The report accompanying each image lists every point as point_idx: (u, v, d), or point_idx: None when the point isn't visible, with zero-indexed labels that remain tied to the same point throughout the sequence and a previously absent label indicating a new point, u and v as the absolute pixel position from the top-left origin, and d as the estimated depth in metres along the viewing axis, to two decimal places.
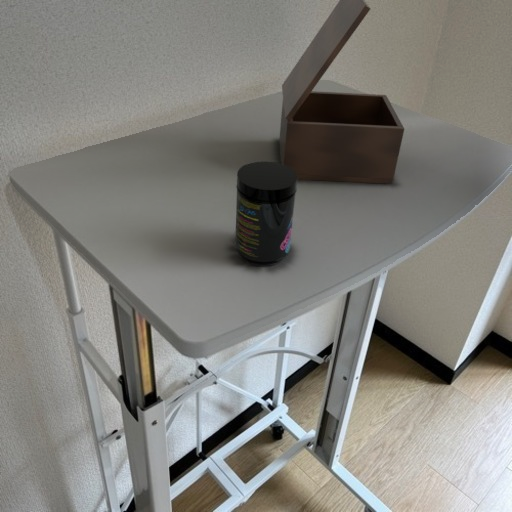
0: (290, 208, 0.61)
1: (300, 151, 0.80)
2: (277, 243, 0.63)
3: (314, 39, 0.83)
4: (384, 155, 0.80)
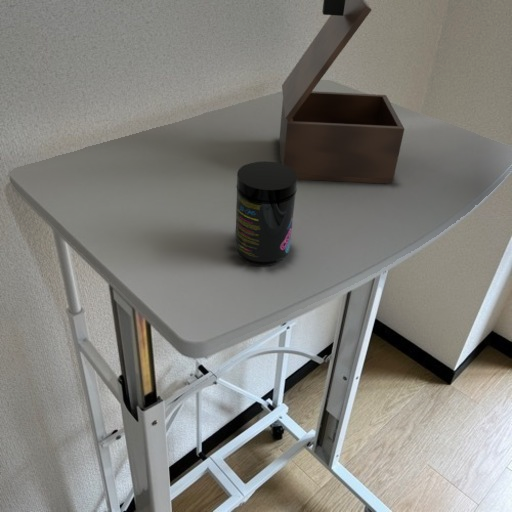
0: (290, 208, 0.61)
1: (300, 151, 0.80)
2: (277, 243, 0.63)
3: (315, 39, 0.83)
4: (384, 155, 0.80)
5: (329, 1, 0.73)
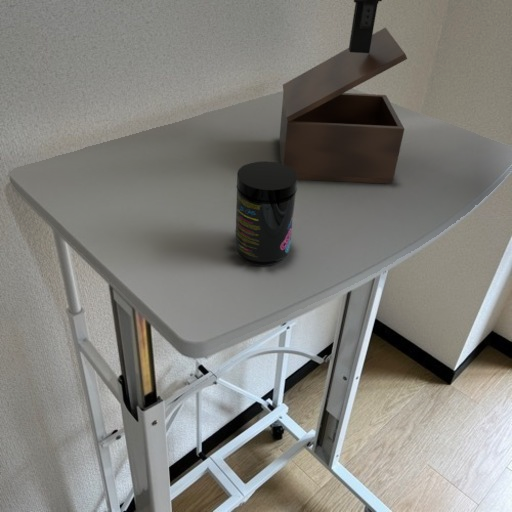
0: (290, 208, 0.61)
1: (300, 151, 0.80)
2: (277, 243, 0.63)
3: (332, 58, 0.84)
4: (384, 155, 0.80)
5: (356, 40, 0.76)
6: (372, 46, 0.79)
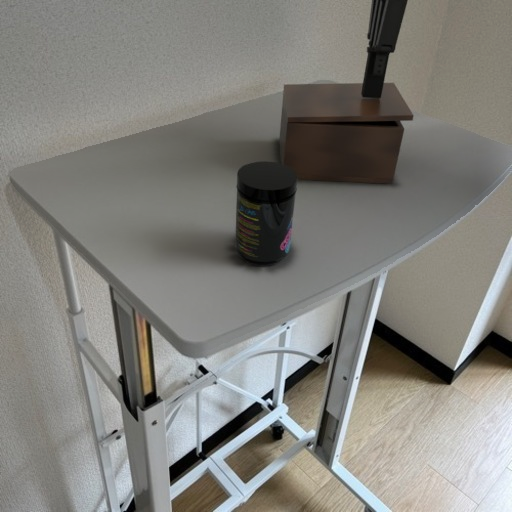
0: (290, 208, 0.61)
1: (300, 151, 0.80)
2: (277, 243, 0.63)
3: (338, 85, 0.87)
4: (384, 155, 0.80)
5: (368, 86, 0.80)
6: None
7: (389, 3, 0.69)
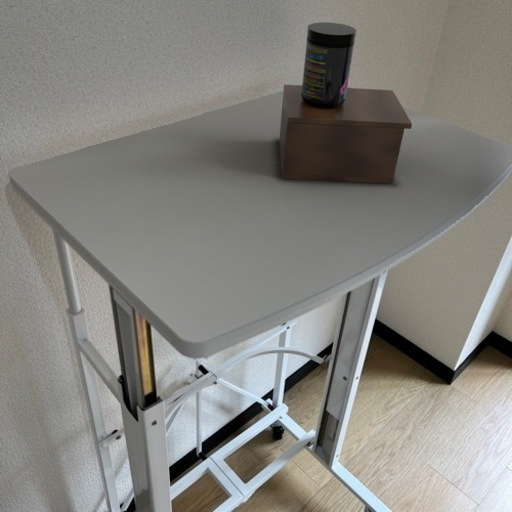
0: (349, 55, 0.77)
1: (300, 151, 0.80)
2: (338, 86, 0.78)
3: None
4: (384, 155, 0.80)
5: None
6: (379, 100, 0.84)
7: None
